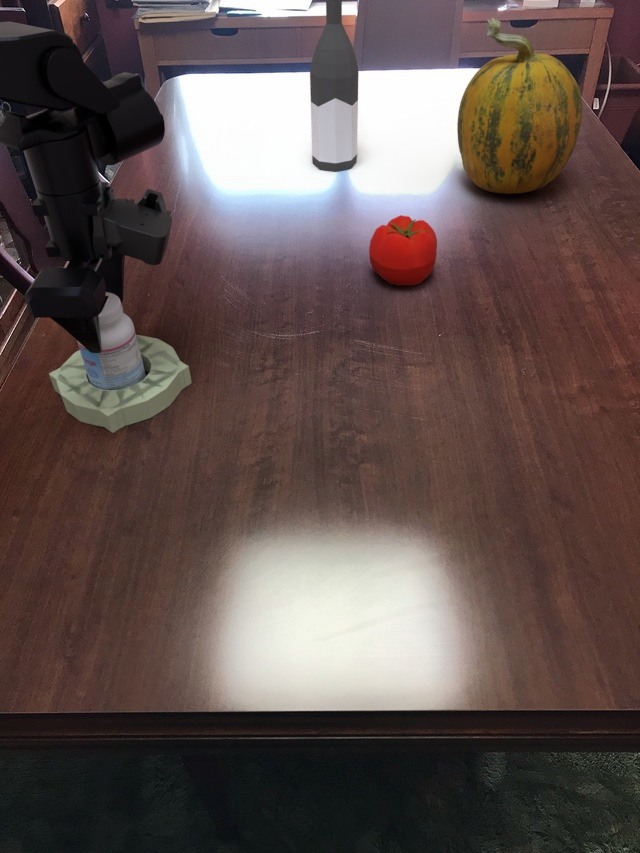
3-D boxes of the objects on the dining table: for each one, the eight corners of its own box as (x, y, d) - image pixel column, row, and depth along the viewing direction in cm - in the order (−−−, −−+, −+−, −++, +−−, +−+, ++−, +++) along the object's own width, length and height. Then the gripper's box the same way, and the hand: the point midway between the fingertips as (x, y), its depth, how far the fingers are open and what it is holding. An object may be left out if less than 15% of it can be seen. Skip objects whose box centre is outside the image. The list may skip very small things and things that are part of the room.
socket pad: (110, 444, 71) (104, 426, 70) (40, 391, 78) (33, 374, 76) (206, 382, 79) (203, 365, 77) (134, 339, 85) (130, 322, 84)
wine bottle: (355, 153, 128) (358, -40, 107) (358, 171, 122) (362, -30, 101) (311, 155, 127) (306, -38, 107) (312, 172, 122) (307, -28, 101)
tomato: (389, 299, 91) (392, 247, 86) (358, 269, 97) (359, 219, 92) (449, 282, 94) (456, 231, 88) (415, 254, 100) (419, 204, 94)
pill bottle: (89, 379, 80) (62, 295, 72) (141, 366, 81) (121, 282, 74) (98, 411, 75) (71, 325, 68) (153, 396, 77) (132, 311, 69)
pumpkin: (427, 184, 117) (442, 17, 100) (498, 154, 126) (523, -4, 109) (517, 221, 106) (551, 41, 89) (588, 185, 115) (630, 16, 98)
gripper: (133, 230, 55) (166, 381, 66) (174, 142, 69) (196, 279, 79) (-4, 231, 55) (51, 382, 66) (64, 144, 69) (101, 280, 80)
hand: (107, 326), depth 73 cm, fingers open, 9 cm apart
